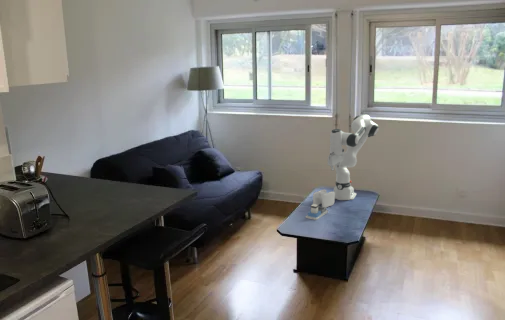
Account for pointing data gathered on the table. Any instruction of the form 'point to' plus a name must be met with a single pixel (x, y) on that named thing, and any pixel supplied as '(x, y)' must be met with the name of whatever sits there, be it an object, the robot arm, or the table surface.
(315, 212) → the plug
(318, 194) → the cable organizer
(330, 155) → the robot arm
